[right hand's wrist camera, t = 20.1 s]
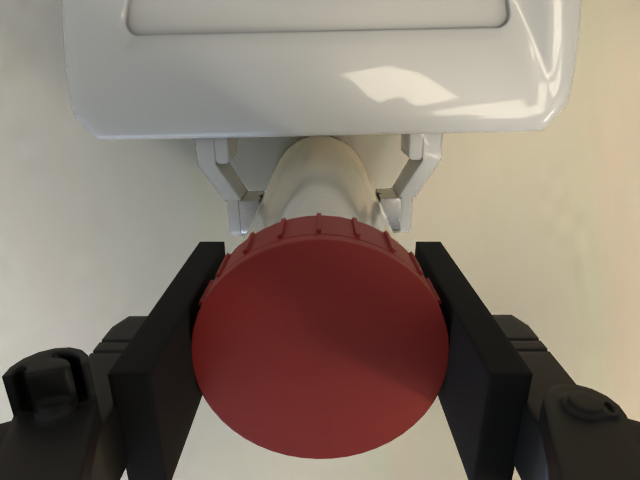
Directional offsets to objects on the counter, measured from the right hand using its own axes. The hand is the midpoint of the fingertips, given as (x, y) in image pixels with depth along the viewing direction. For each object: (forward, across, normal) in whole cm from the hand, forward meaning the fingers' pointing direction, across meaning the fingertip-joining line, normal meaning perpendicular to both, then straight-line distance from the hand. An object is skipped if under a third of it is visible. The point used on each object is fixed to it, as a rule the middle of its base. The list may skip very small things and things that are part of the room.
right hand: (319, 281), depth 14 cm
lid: (-4, 0, 0) cm, 4 cm away
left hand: (+7, 0, -1) cm, 8 cm away
